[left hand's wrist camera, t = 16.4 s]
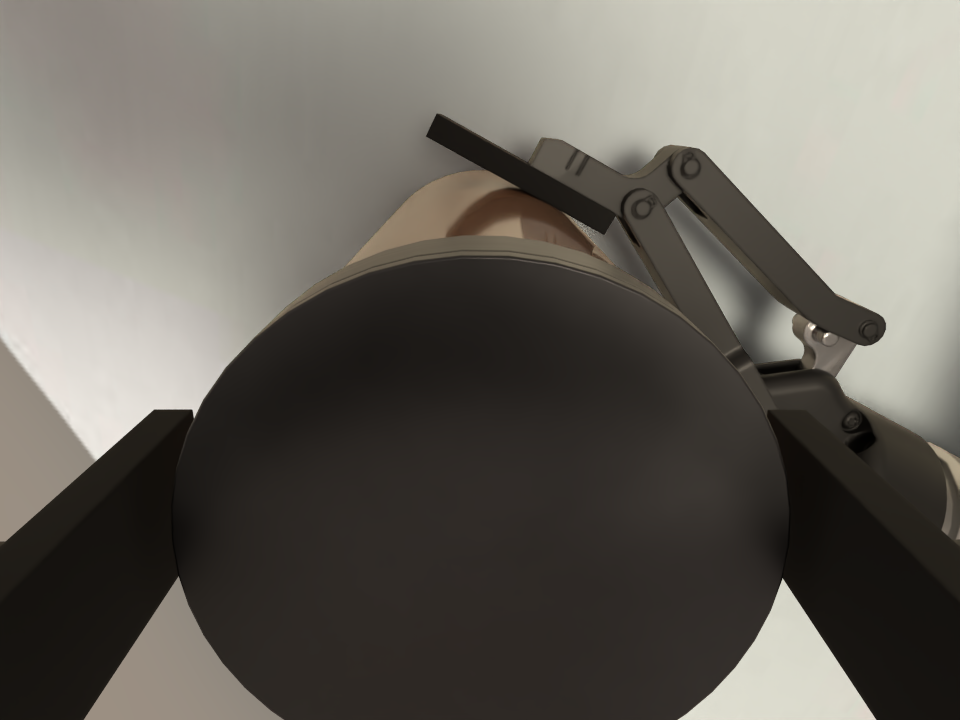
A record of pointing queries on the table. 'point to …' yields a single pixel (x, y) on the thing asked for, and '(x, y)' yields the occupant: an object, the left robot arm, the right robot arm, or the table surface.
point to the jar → (477, 216)
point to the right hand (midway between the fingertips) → (369, 260)
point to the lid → (480, 495)
